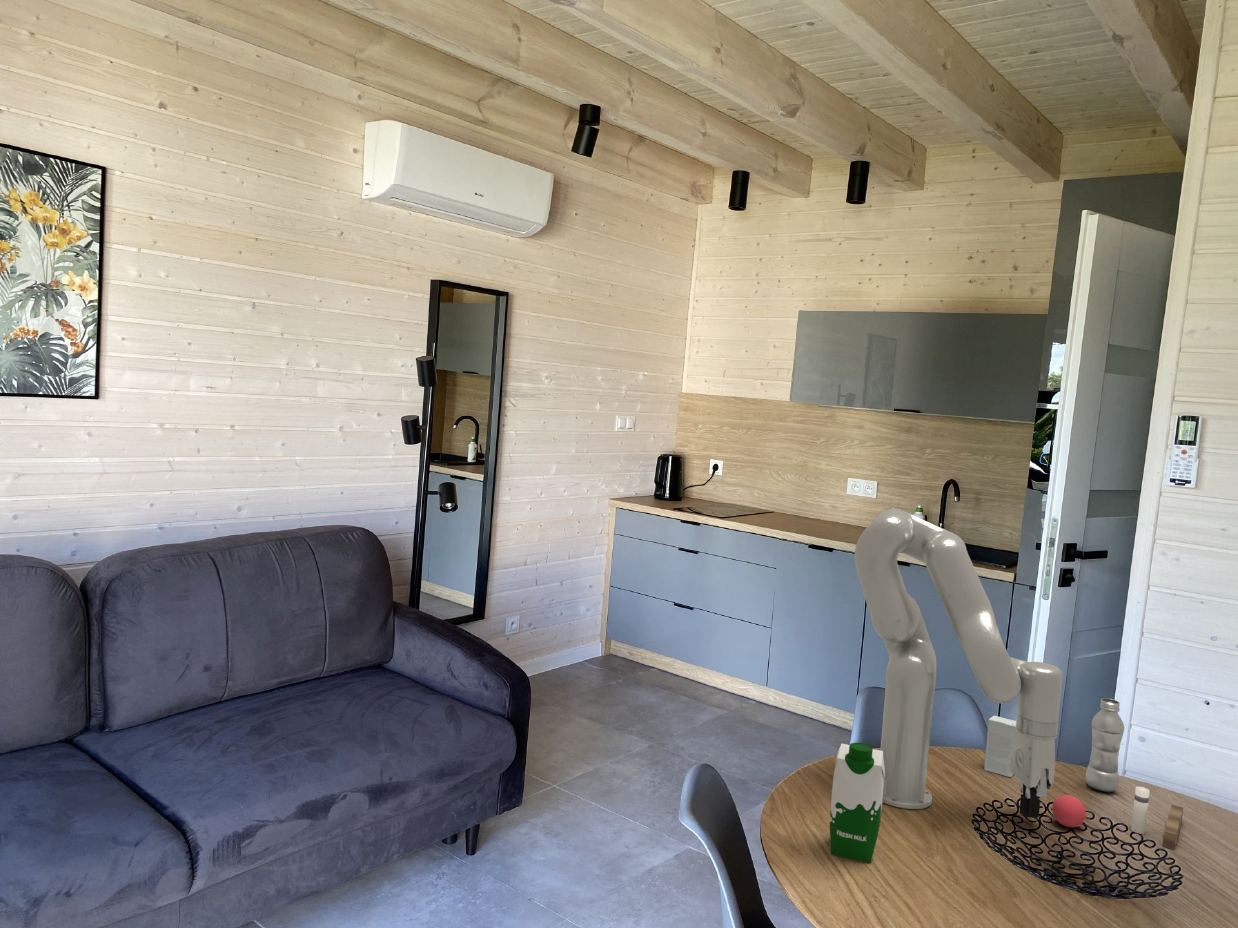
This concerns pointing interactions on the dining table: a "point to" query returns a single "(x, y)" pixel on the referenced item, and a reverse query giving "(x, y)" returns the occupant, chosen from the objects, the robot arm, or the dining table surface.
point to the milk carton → (856, 801)
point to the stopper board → (1172, 827)
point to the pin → (1140, 810)
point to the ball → (1069, 811)
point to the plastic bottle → (1105, 747)
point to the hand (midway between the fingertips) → (1028, 815)
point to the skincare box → (999, 745)
